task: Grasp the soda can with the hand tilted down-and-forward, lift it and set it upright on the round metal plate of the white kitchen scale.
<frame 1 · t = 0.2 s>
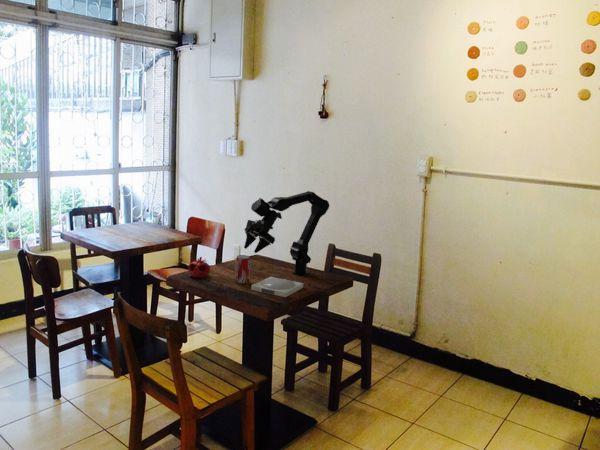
hand: (249, 250, 240), 14 cm above the table, tool tilted 35°, fingers open, 9 cm apart
soda can: (242, 282, 240), on the table
pomegranate: (199, 276, 245), on the table
scale: (277, 288, 233), on the table
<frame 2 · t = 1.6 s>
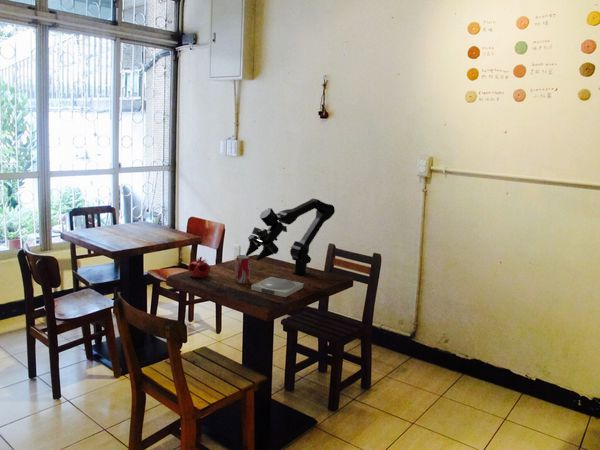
hand: (251, 257, 241), 11 cm above the table, tool tilted 45°, fingers open, 9 cm apart
nothing on the table moved.
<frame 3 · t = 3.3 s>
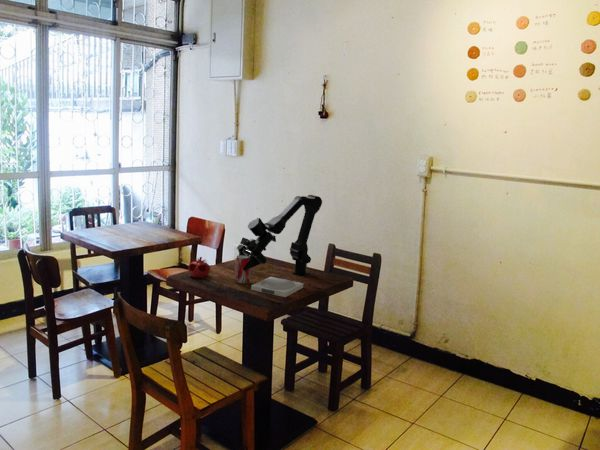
hand: (239, 268, 238), 7 cm above the table, tool tilted 45°, fingers closed on soda can, 7 cm apart
soda can: (242, 282, 240), on the table, touching gripper
everything else where it was.
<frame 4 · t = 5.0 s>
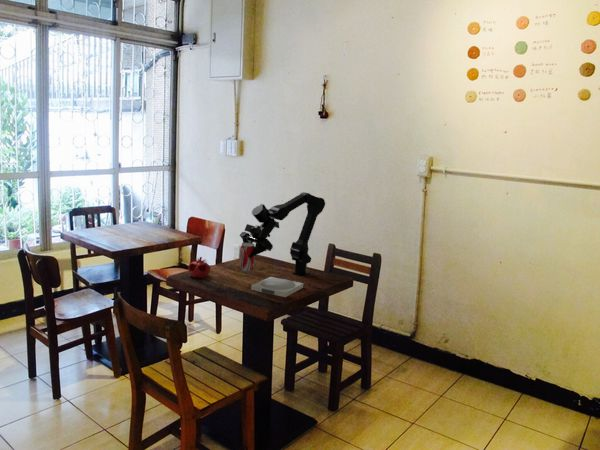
hand: (244, 255, 235), 13 cm above the table, tool tilted 45°, fingers closed on soda can, 7 cm apart
soda can: (246, 270, 237), point 6 cm above the table, touching gripper
everything else where it was.
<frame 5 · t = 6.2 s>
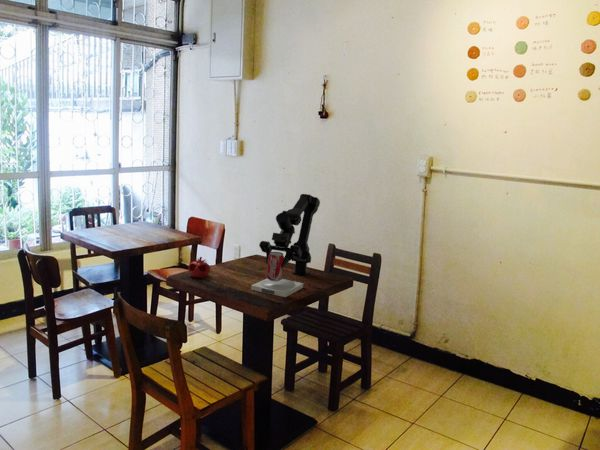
hand: (274, 265, 227), 12 cm above the table, tool tilted 45°, fingers closed on soda can, 7 cm apart
soda can: (274, 280, 230), point 5 cm above the table, touching gripper
everything else where it was.
when the fingers open (10 cm above the table, at t = 6.9 s): soda can stays where it is, resting on scale.
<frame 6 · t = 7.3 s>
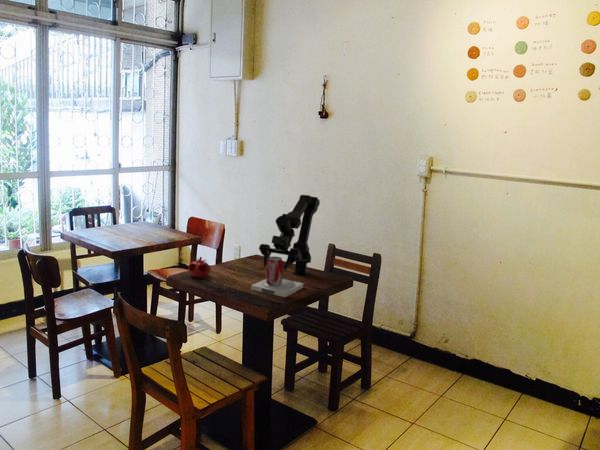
hand: (274, 268, 227), 10 cm above the table, tool tilted 45°, fingers open, 9 cm apart
soda can: (273, 285, 230), point 2 cm above the table, touching scale
everything else where it was.
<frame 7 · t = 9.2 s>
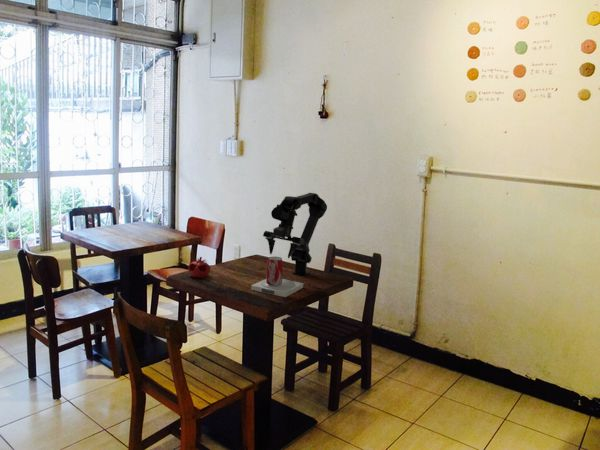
hand: (279, 256, 242), 12 cm above the table, tool tilted 15°, fingers open, 9 cm apart
nothing on the table moved.
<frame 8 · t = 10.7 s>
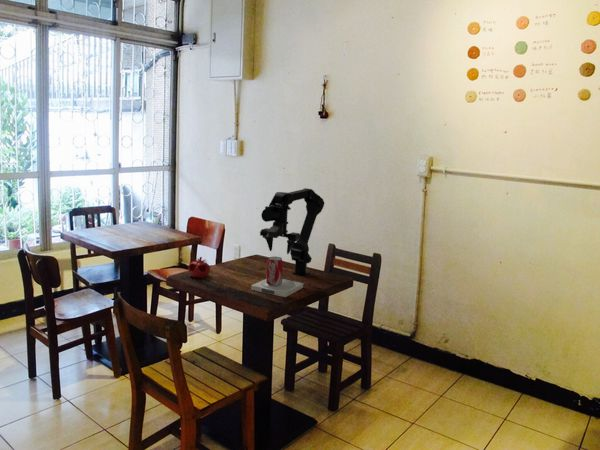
hand: (279, 252, 245), 13 cm above the table, tool pointing down, fingers open, 9 cm apart
nothing on the table moved.
at the end: soda can inside the target area on the scale (2.9 cm from its centre), point 2.3 cm above the scale's base; soda can tilted 0°; the gripper is holding nothing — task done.
